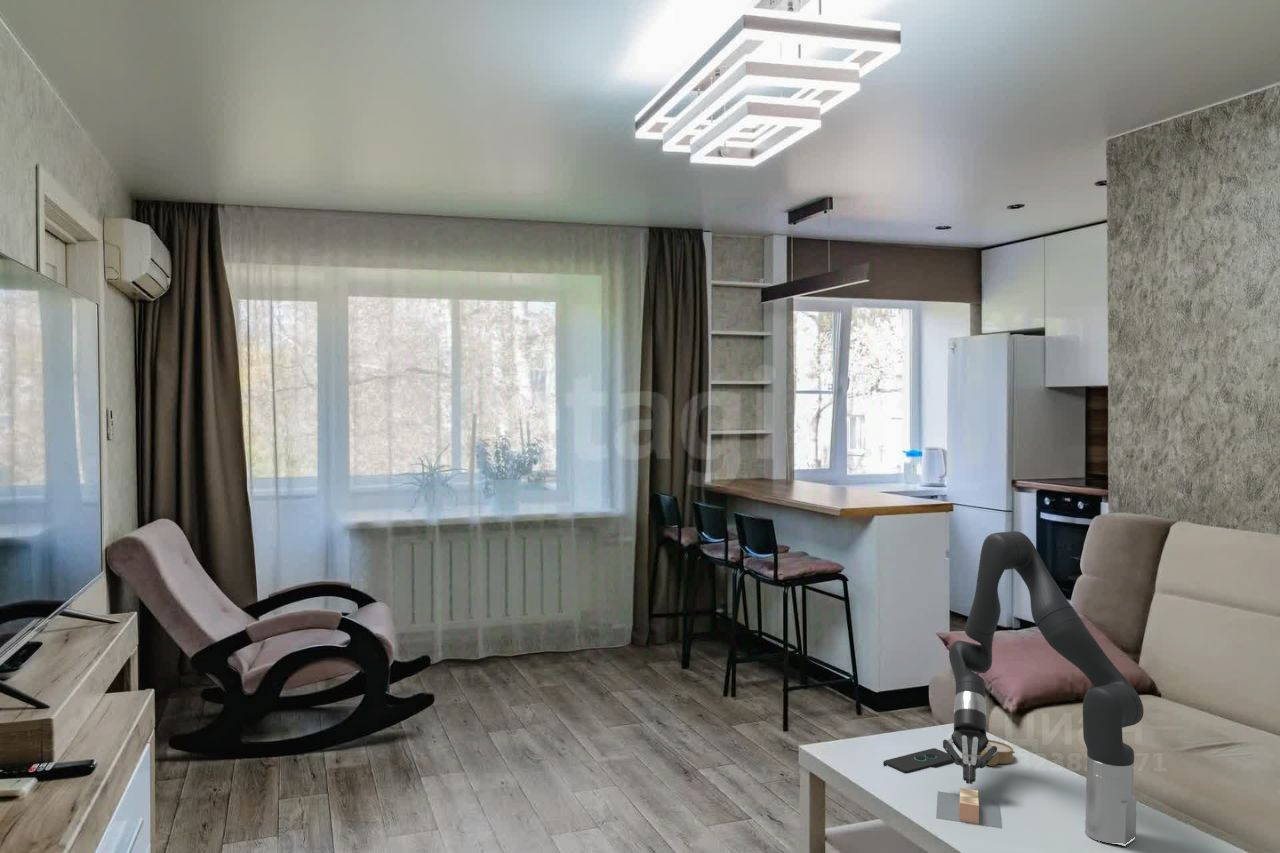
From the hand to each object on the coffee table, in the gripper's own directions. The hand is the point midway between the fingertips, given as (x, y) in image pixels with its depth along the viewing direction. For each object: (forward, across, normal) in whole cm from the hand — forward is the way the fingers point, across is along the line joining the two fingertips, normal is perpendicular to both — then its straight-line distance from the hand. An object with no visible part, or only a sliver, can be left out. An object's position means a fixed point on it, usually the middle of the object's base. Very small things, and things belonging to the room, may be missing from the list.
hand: (969, 782), depth 216 cm
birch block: (+3, 0, +2) cm, 3 cm away
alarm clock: (-20, +5, +29) cm, 35 cm away
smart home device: (-13, -12, +22) cm, 28 cm away
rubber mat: (+6, 0, +2) cm, 6 cm away
